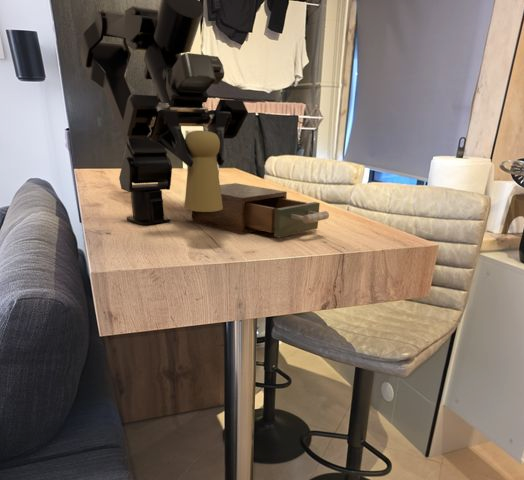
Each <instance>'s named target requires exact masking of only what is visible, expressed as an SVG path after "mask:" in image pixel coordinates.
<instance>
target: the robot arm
mask: <svg viewBox="0 0 524 480" xmlns="http://www.w3.org/2000/svg"><path fill="white" fill-rule="evenodd" d="M203 14H204V6H203V3H202V1H200V0H160V3H159V6H158V9H157V8H149V7H143V6H136V5H131V6H129V7H128V8H125V10H124V13H123V12H122V11H117V10H116V11H115V10H109V9H100V10H97V11H96V14H95V18H94V22H92V24H91V25H90V26H89V27H87V29H86V30H85V31H84V32H83V33H82V39H81V45H80V60H81V63H82V66H83V68H85V71H86V72H87V75H88V76H89V78H90V80H91V81H93V83H94V84H95V85H97V86H99V87H100V88H102V89H103V91H104V94H105V97H106V100H107V102H108V104H109V108H110V110H111V112H112V114H113V117H114V120H115V122H116V124H117V128H118V130H119V132H120V135H121V137H122V141H123V142H124V145H125V150H124V153H123V158H122V165H121V168H120V172H119V176H118V180H119V184H120V189H121V190H123V191H125V192H127V193H130V199H131V200H130V201H131V202H130V203H131V211H132V216H129V217H126V218H125V219H126V221H128V222H130V223H131V222H132V223H135V224H138V225H141V226H149V225H154V224H160V223H167V222H171V218H169V217H166V216H165V210H164V199H163V191H164V190H166V191H169V190H171V185H172V175H173V174H172V173H173V165H172V161H171V159H170V157H169V156H168V152H170V153H171V154H173V155H174V156H175V157H176V158H178V159H179V161H181V162H183V164H185V165H186V167H187V166H189V167H191V166H192V164H193V159H192V156H191V153H190V150H189V148H188V146H187V143H186V141H185V136H184V134H183V132H182V129H181V127H203V129H204V131H209V132H213V133H215V134H216V135H217V136H218V138H219V141H220V149H219V152H218V154H217V155H216V159H217V163H218V164H219V167H220V166H221V167H222V166H223V165H224V164H225V139H234V138H235V137H237V136H238V133H239V132H240V130H241V127H242V126H243V124H244V122H245V121H246V119H247V116H248V114H249V111H248V109H247V106H246V104H245V102H244V100H243V99H228V98H227V99H225V98H220V99H219V100H218V103H217V105H216V108H215V110H209V108H208V107H205V106H204V105H203V104H204V103H205V104H206V103H207V101H208V99H209V94H208V92H207V91H208V90H209V88H211V86H212V85H219V83H220V82H221V81H223V79H224V77H225V68H224V65H223V62H222V61H221V60H220V59H221V58H219V56H215V55H208V54H200V53H192V52H191V51H192V47H193V45H194V42H195V38H196V35H197V32H198V30H199V27H200V23H201V20H202V18H203ZM104 37H108V38H117V39H118V38H119V39H121V40H122V41H121V43H119V42H110V41H103V39H104ZM130 49H132V50H133V51H136V52H144V57H143V61H144V64H145V67H144V71H143V74H144V75H143V77H144V79H145V80H150V81H152V83H153V86H154V88H155V90H156V95H151V94H150V95H148V94H133V92H132V91H131V88H130V86H129V83H128V81H127V79H126V76H127V72H128V71H127V70H128V67H129V62H130V59H131V56H132V53H131V50H130Z"/></svg>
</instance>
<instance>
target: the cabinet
mask: <svg viewBox="0 0 524 480" xmlns="http://www.w3.org/2000/svg"><path fill="white" fill-rule="evenodd" d="M220 190H221V198H222V206H223V209H222V210H219V211H212V212H198V211H191V222H192V223H195V224H201V225H204V226H208V227H212V228H215V229H220V230H223V231H228V232H230V233H235V234H239V235H246V234H251V233H255V232H259V231H261V230H257V229H253V228H249V227H245V202H249V201H255V200H262V199H268V198H275V197H279V198H284V199H287V195H288V192H287V191H285V190H279V189H272V188H267V187H261V186H255V185H249V184H243V183H237V182H234V183H224V184H220Z"/></svg>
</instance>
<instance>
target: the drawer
mask: <svg viewBox="0 0 524 480" xmlns="http://www.w3.org/2000/svg"><path fill="white" fill-rule="evenodd" d="M329 216H330V214H329V212H328V211H327V210H325V211H320V202H317V201H313V202H312V201H311V202H307V201H302V200H301V201H300V200H297V199H296V200H295V199H289V198H286V199H284V198H279V197H275V198H268V199H262V200H255V201H249V202H245V227H249V228H253V229H257V230H260V231H263V232H266V233H269V234H272V233H273V236H274V238H279V239H280V238H284V237H288V236H292V235H296V234H300V233H304V232H308V231H309V232H310V231H313V230H317V229H319V222H320V221H324V220H328V219H329Z"/></svg>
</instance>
